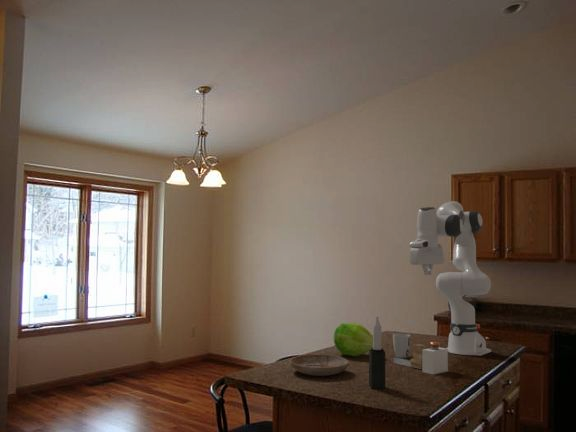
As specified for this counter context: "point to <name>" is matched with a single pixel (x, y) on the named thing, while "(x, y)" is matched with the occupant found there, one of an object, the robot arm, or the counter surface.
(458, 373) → the counter surface
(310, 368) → the ceramic bowl
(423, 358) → the housing
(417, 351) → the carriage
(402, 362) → the rail
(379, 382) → the candle
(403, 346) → the cup
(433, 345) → the plunger
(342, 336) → the lettuce
